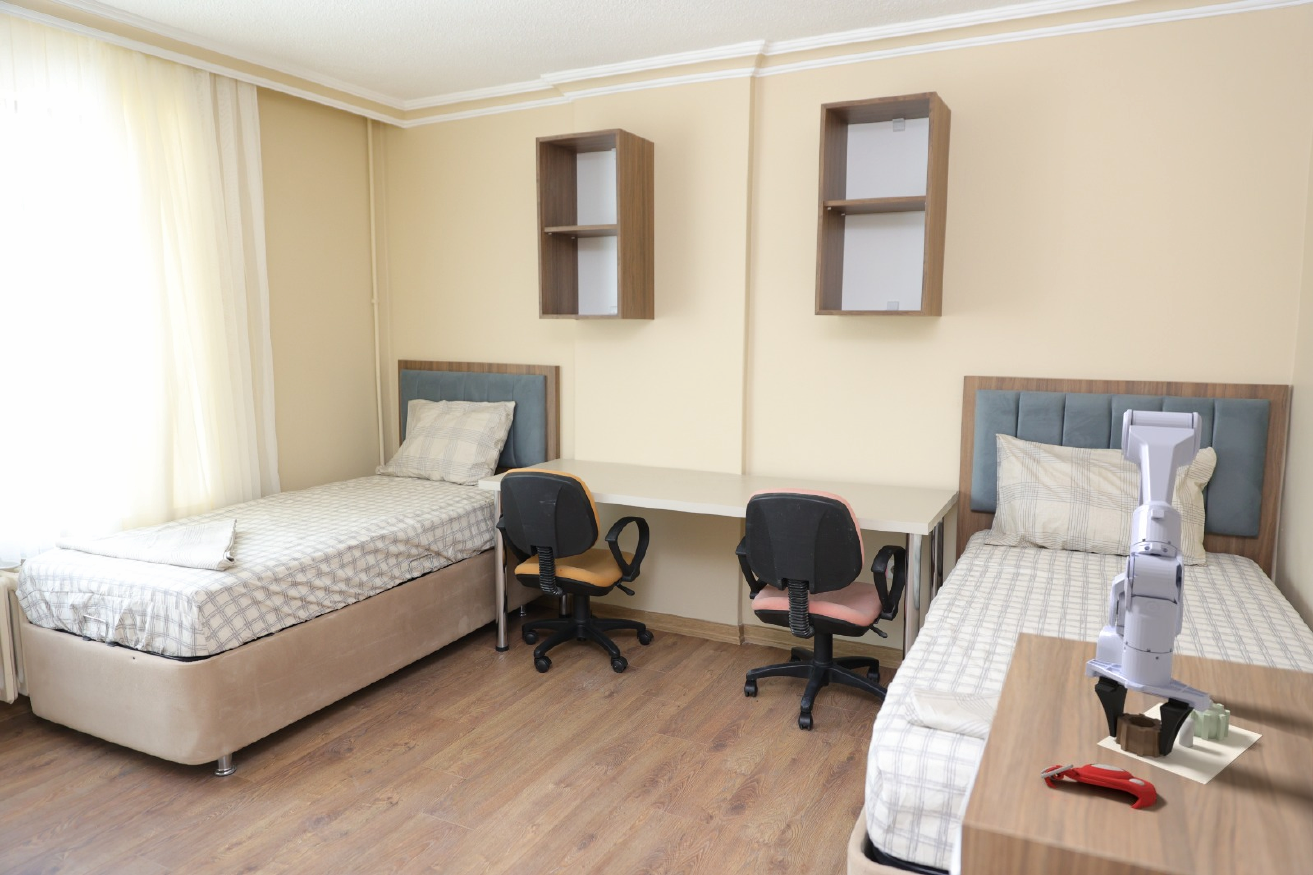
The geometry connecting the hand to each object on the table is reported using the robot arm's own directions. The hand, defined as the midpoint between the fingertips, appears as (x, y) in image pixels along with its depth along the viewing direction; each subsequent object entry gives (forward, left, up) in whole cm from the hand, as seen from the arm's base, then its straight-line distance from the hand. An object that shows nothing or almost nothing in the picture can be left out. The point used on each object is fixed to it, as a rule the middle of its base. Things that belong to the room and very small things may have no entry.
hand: (1140, 743), depth 116 cm
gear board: (+2, +6, -2) cm, 7 cm away
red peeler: (0, -14, -2) cm, 14 cm away
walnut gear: (0, 0, 0) cm, 0 cm away
